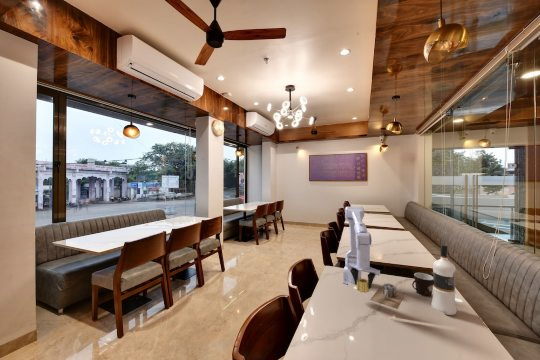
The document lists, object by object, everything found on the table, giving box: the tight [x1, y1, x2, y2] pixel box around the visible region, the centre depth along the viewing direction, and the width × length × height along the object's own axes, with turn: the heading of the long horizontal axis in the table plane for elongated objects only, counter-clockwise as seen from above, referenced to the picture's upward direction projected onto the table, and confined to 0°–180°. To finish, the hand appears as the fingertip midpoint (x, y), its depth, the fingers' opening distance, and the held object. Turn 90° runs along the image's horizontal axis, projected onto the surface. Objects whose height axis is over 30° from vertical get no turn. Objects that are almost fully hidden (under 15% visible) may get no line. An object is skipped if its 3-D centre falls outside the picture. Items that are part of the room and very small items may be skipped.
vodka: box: [430, 244, 458, 316], centre depth 106 cm, size 9×9×30 cm
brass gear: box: [356, 277, 370, 294], centre depth 111 cm, size 6×6×4 cm
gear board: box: [369, 286, 406, 310], centre depth 115 cm, size 12×18×6 cm, turn 140°
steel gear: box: [382, 283, 397, 297], centre depth 118 cm, size 6×6×4 cm
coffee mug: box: [411, 272, 433, 298], centre depth 119 cm, size 12×9×10 cm
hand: (363, 286), depth 111 cm, fingers closed on brass gear, 6 cm apart
